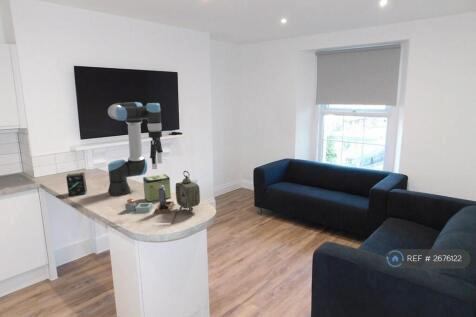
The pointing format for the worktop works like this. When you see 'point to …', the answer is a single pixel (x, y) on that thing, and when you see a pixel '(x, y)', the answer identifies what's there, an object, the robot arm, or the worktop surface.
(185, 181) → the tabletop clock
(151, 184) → the protein box
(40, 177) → the worktop surface
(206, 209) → the worktop surface
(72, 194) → the tampon box
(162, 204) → the dark grey cylinder
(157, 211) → the tray
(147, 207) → the socket block
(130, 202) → the release plunger
